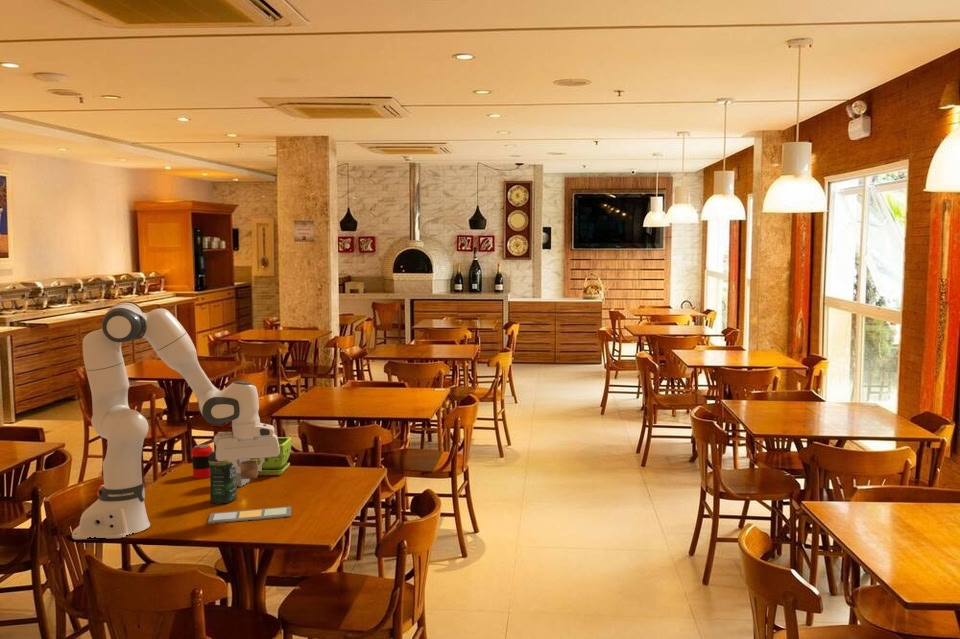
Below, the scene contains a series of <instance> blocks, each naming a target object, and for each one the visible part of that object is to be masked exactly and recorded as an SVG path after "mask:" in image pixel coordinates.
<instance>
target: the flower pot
mask: <svg viewBox="0 0 960 639" xmlns="http://www.w3.org/2000/svg"><path fill="white" fill-rule="evenodd" d="M277 438H278V442H279V449H280V453H279V455H278V456H275V457H264V462H263V464H262V466H261V467H262V471H258V475H257V476H281V475H282V474H283V473H284V472H285V471H287V470H288V468H289V467H290V465H291V463H290V462H288V460H289V458H290V454H291V450H292V442H293V440H292V437H289V436H285V437H284V436H283V437H282V436H281V437H280V436H277ZM254 459H257V465H259V464H260V462H261V461H260V458H251V459H250V460H254ZM286 469H287V470H286Z"/></svg>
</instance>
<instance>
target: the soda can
mask: <svg viewBox="0 0 960 639" xmlns="http://www.w3.org/2000/svg"><path fill="white" fill-rule="evenodd" d="M211 452H213V447H211V445H210V444H198V445H195V446H194V447H193V448H192V449H191V457H192V476H193V478H194V479H196V478H198V479H197V480H200V479H199V478H204V479H209V478H210V465H209V454H210V453H211Z"/></svg>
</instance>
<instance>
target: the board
mask: <svg viewBox="0 0 960 639" xmlns="http://www.w3.org/2000/svg"><path fill="white" fill-rule="evenodd" d="M284 517H286V518H292V505H291V506H279V507H268V508H257V509H255V508H254V509H247V510H233V511H232V510H231V511H221V512H212V513H210V514H209V516H208V520H207V522H206V523H207V525H214V524H213V523H218V524H226V522H230V523H237V522H236V521H241V522H249V521H248V520H252V521H259V520H260V521H261V520H262V519H263V520H271V519H272V518H274V519H285V518H284Z"/></svg>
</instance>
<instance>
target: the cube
mask: <svg viewBox="0 0 960 639" xmlns="http://www.w3.org/2000/svg"><path fill="white" fill-rule="evenodd" d="M240 470H241V479H250V480H251V479H258V476H259V475H258V471H257V459H254V460H251V459H249V460H242V461H241V463H240Z"/></svg>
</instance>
